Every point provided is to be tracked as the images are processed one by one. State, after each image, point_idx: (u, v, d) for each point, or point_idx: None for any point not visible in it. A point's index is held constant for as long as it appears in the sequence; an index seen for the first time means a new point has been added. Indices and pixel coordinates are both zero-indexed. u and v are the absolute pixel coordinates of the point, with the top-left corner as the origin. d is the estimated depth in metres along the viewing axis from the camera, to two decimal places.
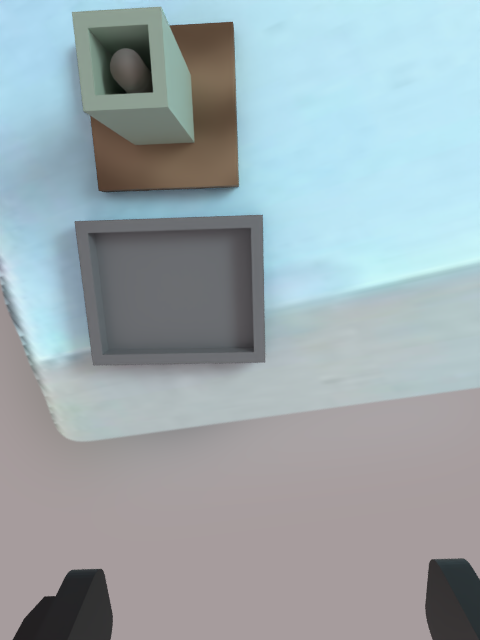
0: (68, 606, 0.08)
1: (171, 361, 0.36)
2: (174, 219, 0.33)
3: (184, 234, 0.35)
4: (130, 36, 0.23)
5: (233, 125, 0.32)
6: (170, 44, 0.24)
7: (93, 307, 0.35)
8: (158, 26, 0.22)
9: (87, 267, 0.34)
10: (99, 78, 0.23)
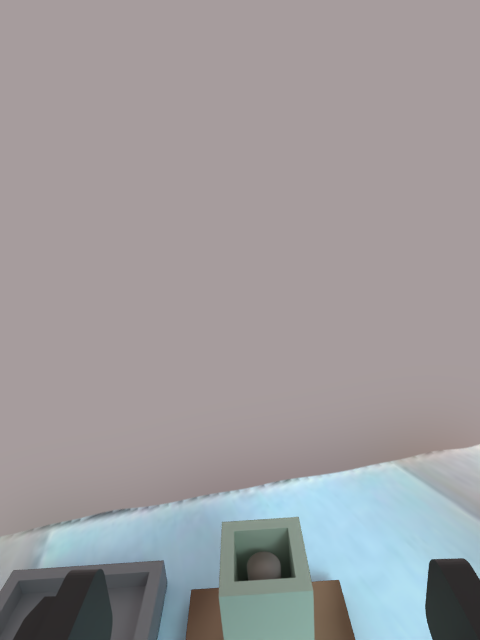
0: (68, 606, 0.08)
1: None
2: None
3: None
4: (293, 572, 0.23)
5: None
6: (295, 620, 0.21)
7: None
8: (294, 587, 0.21)
9: (115, 570, 0.33)
10: (254, 542, 0.25)
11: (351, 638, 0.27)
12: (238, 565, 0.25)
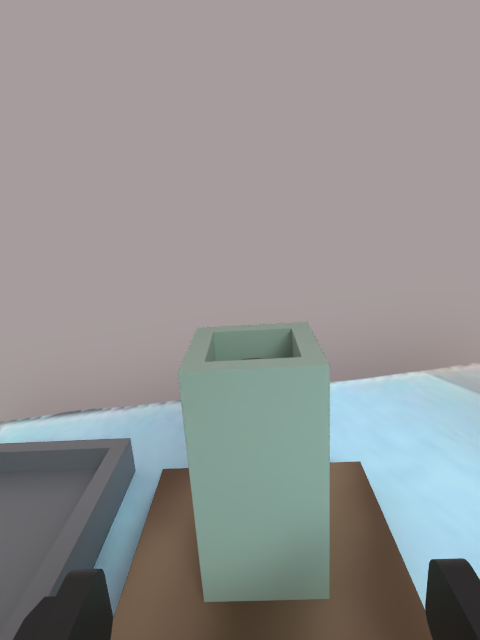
0: (68, 606, 0.08)
1: None
2: (71, 547, 0.17)
3: None
4: None
5: None
6: (300, 422, 0.13)
7: (12, 449, 0.25)
8: (300, 363, 0.13)
9: (67, 446, 0.25)
10: (242, 352, 0.17)
11: (379, 517, 0.19)
12: None
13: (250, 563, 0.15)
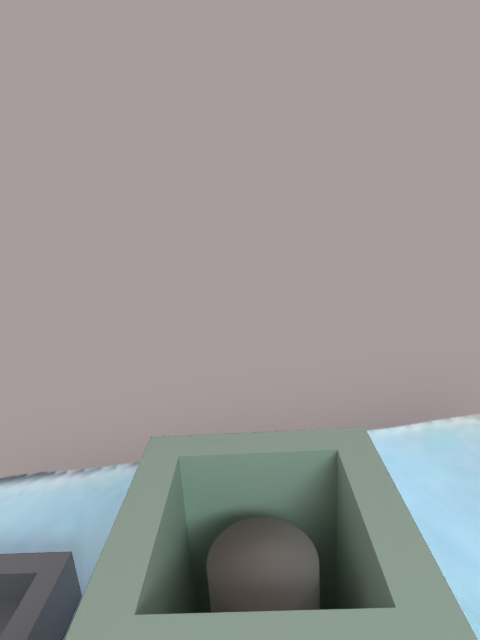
0: None
1: None
2: None
3: None
4: (362, 583, 0.07)
5: None
6: None
7: None
8: None
9: None
10: (237, 493, 0.09)
11: None
12: (193, 559, 0.09)
13: None
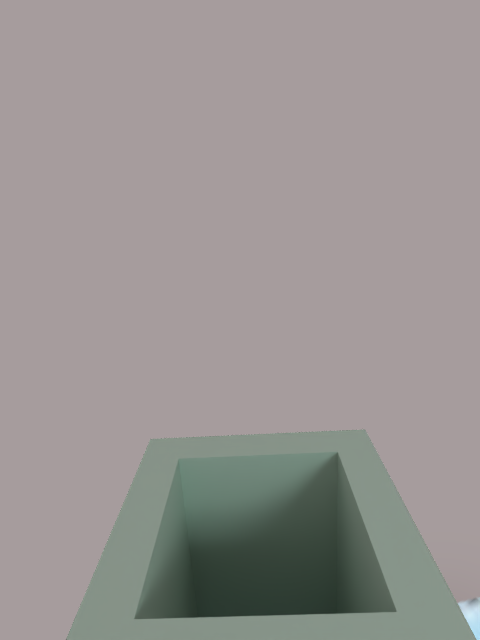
0: None
1: None
2: None
3: None
4: (364, 586, 0.07)
5: None
6: None
7: None
8: None
9: None
10: (237, 495, 0.09)
11: None
12: (193, 561, 0.09)
13: None
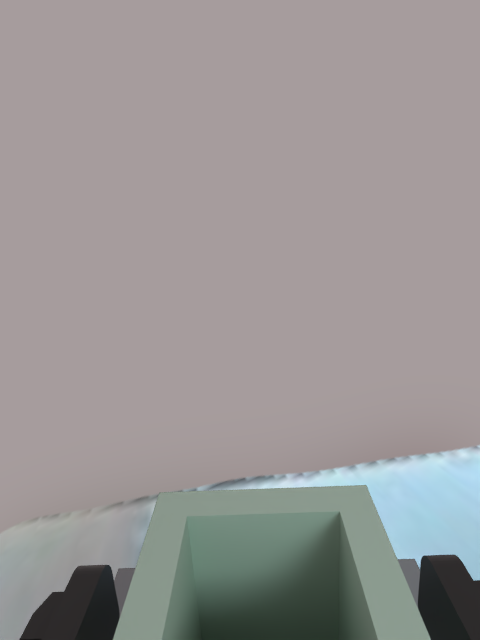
0: (77, 601, 0.08)
1: None
2: None
3: None
4: None
5: None
6: None
7: None
8: None
9: None
10: (243, 550, 0.09)
11: None
12: (200, 611, 0.09)
13: None
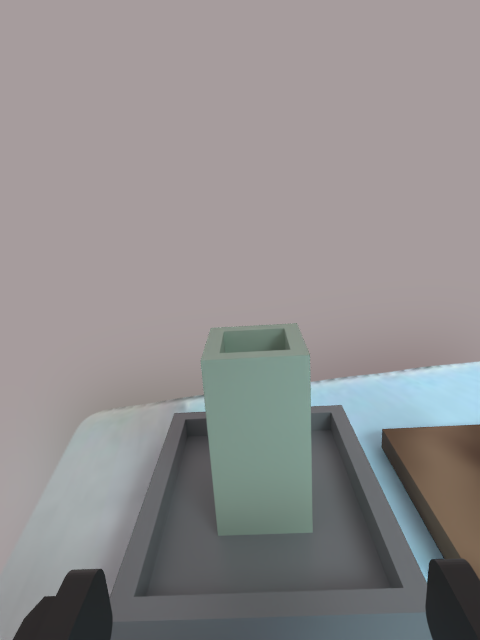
0: (68, 606, 0.08)
1: (156, 475, 0.23)
2: (375, 479, 0.22)
3: (353, 509, 0.22)
4: None
5: None
6: (289, 397, 0.18)
7: None
8: (288, 353, 0.18)
9: None
10: (246, 347, 0.22)
11: None
12: None
13: (253, 504, 0.20)
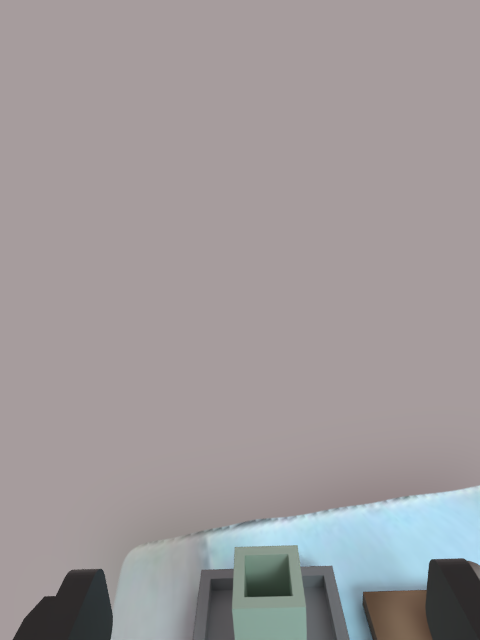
0: (68, 606, 0.08)
1: None
2: None
3: None
4: (291, 591, 0.29)
5: None
6: (292, 630, 0.27)
7: None
8: (291, 604, 0.26)
9: None
10: (260, 565, 0.31)
11: None
12: (247, 583, 0.31)
13: None
